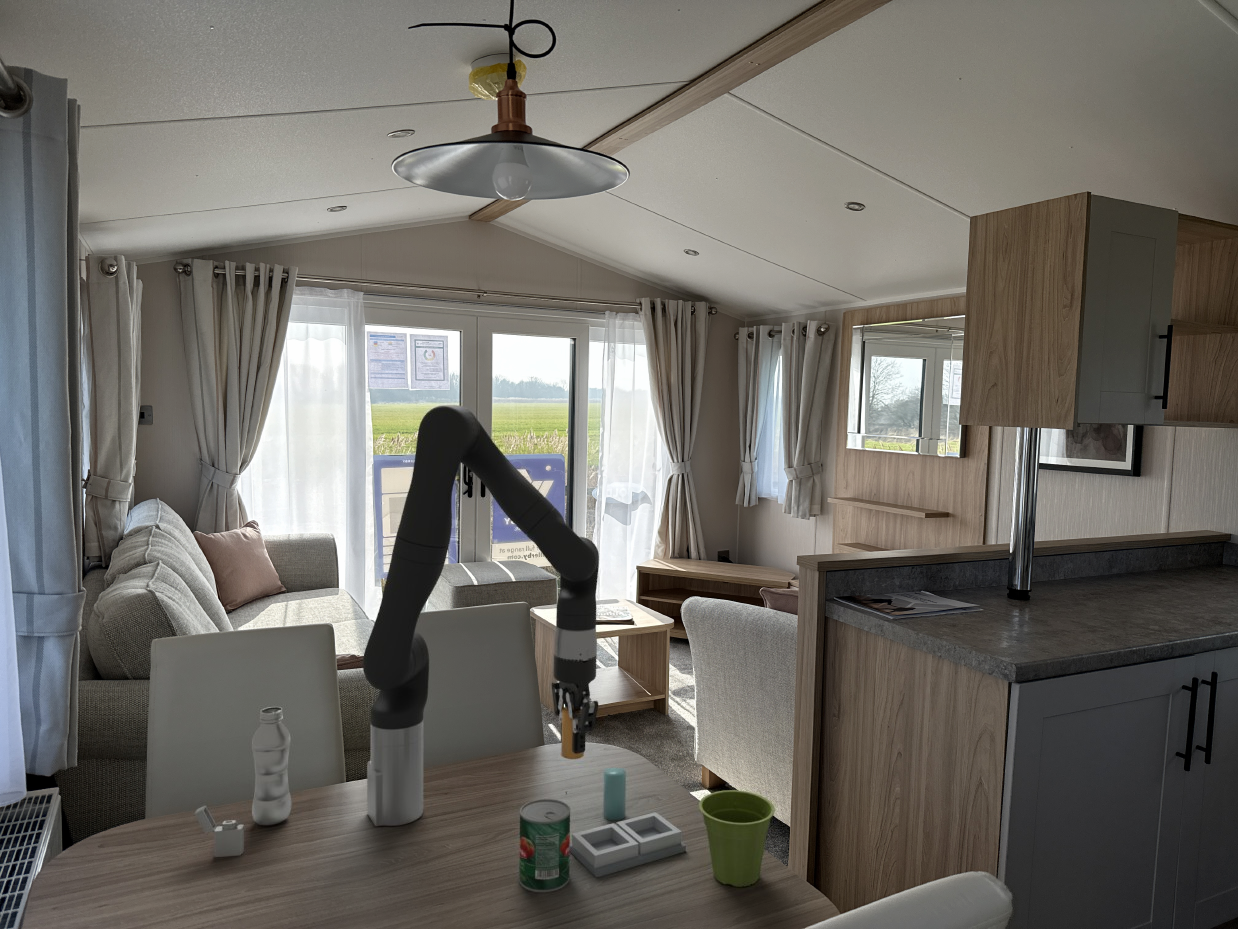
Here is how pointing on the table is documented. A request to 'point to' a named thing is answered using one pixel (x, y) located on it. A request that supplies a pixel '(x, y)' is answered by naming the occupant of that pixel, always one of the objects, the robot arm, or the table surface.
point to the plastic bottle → (271, 768)
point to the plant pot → (736, 834)
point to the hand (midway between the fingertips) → (572, 747)
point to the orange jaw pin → (568, 736)
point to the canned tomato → (544, 845)
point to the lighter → (222, 834)
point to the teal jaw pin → (614, 793)
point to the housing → (626, 844)
